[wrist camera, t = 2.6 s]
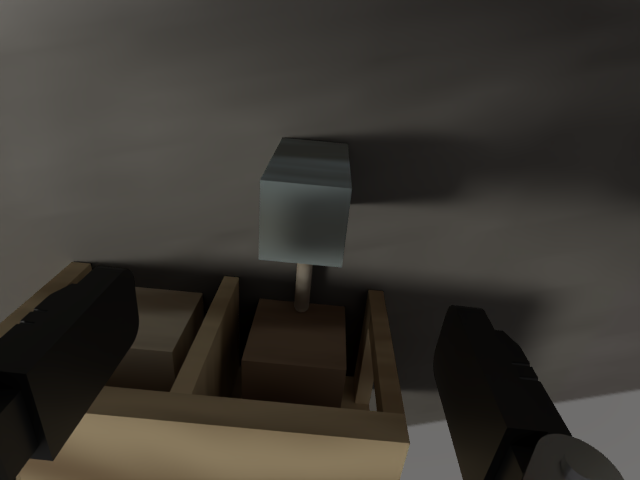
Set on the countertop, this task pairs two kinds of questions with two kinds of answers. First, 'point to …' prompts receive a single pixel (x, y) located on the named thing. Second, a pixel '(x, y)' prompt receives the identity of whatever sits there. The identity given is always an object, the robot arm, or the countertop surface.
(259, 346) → the corded block
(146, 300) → the plain block
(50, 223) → the countertop surface
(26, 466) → the divided wooden crate
